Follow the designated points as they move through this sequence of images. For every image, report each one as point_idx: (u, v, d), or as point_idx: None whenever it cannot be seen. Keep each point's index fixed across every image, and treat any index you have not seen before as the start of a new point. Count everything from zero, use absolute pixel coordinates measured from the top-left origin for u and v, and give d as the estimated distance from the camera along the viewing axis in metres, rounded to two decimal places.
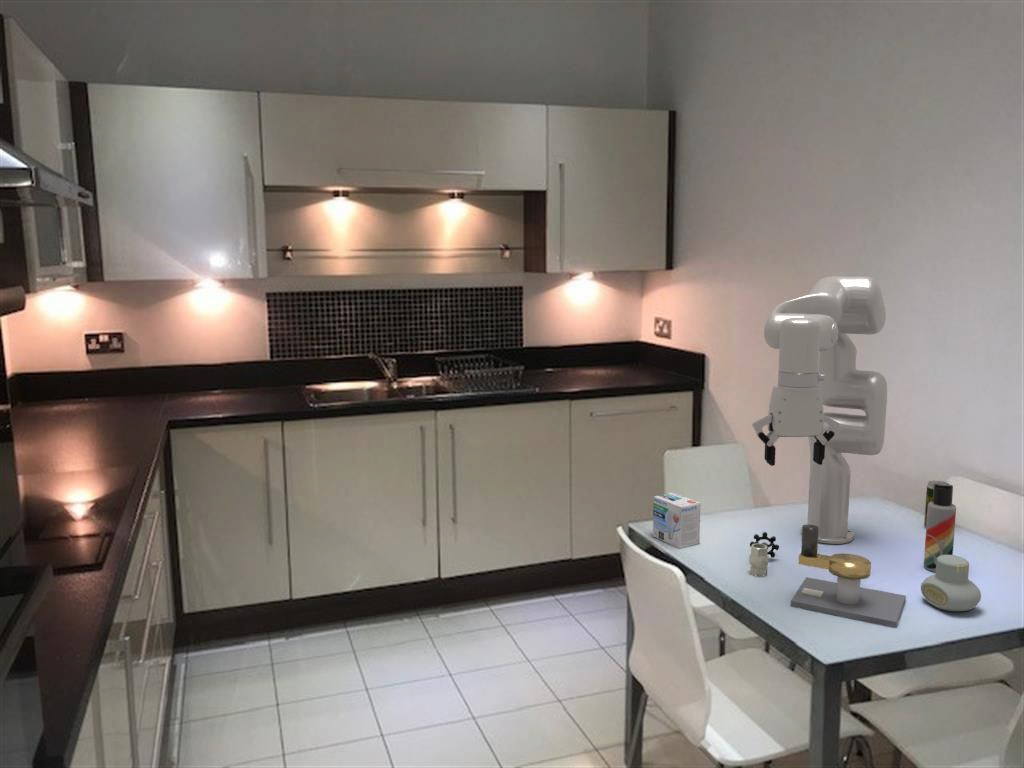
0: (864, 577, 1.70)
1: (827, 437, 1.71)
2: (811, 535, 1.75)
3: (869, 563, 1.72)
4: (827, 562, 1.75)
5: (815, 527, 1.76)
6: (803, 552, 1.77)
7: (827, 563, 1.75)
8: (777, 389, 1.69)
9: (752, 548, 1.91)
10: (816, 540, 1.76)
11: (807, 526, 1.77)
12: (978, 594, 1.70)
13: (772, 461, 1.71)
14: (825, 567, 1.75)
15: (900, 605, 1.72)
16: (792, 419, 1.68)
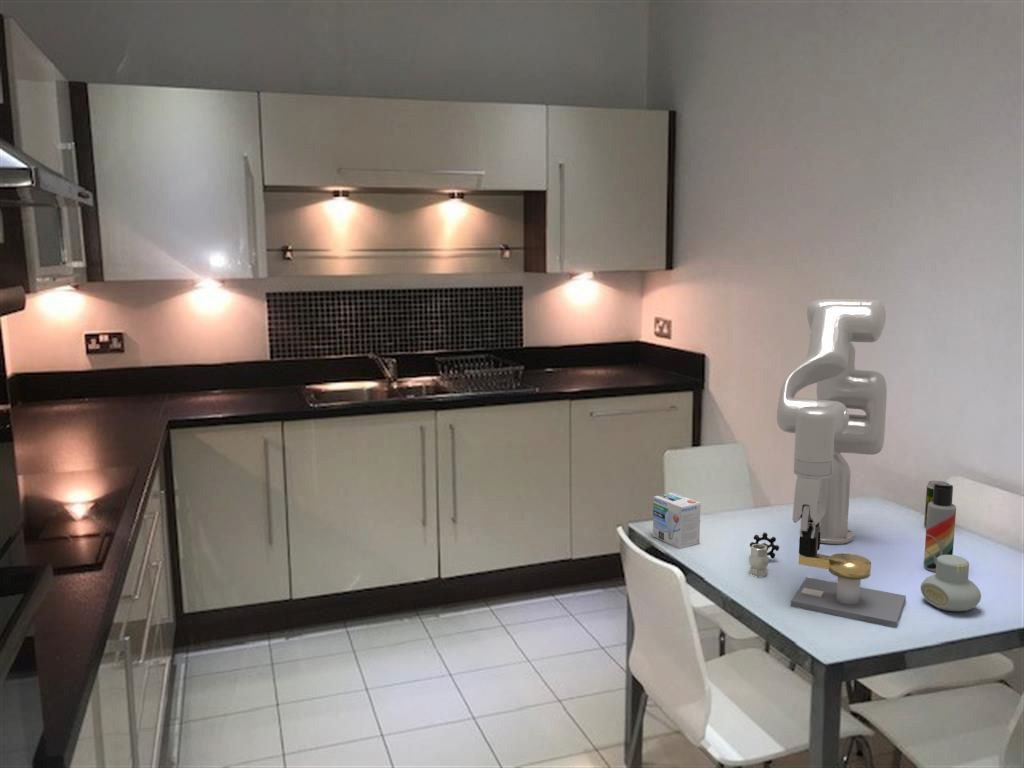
0: (864, 577, 1.70)
1: (817, 523, 1.79)
2: None
3: (869, 563, 1.72)
4: (827, 562, 1.75)
5: (815, 527, 1.76)
6: None
7: (827, 563, 1.75)
8: (812, 480, 1.71)
9: (752, 549, 1.91)
10: (816, 540, 1.76)
11: None
12: (978, 594, 1.70)
13: (815, 552, 1.75)
14: (825, 567, 1.75)
15: (900, 605, 1.72)
16: (822, 505, 1.73)
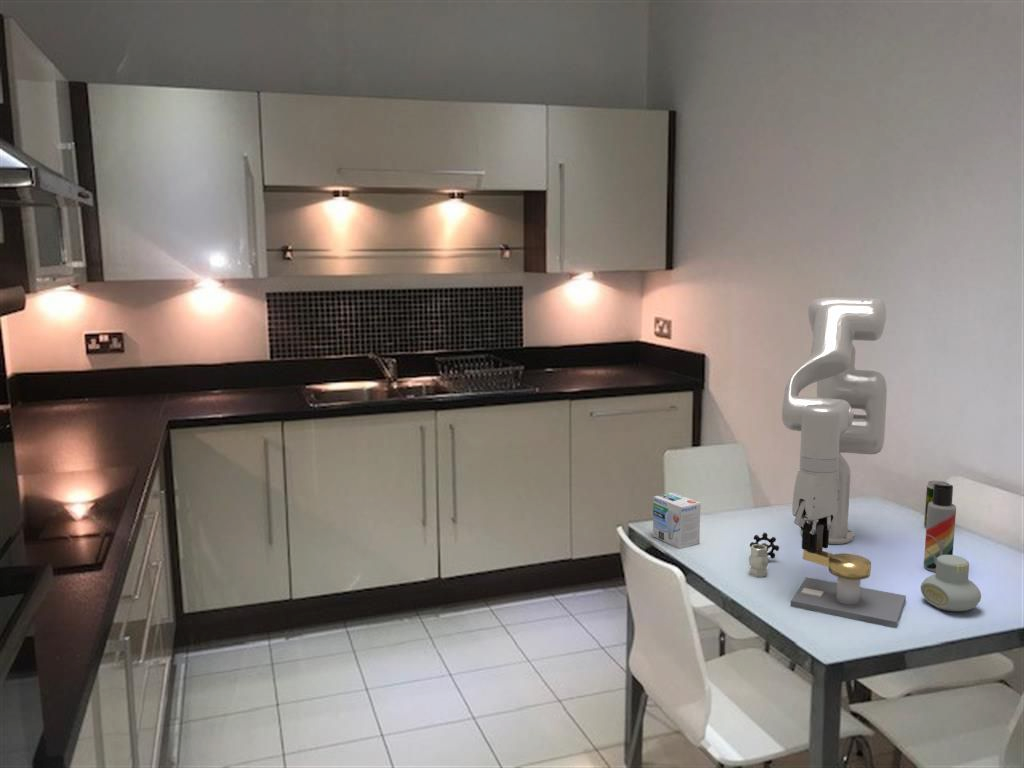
0: (858, 578, 1.70)
1: None
2: None
3: (867, 565, 1.71)
4: (827, 560, 1.76)
5: (820, 524, 1.78)
6: None
7: (827, 561, 1.76)
8: (809, 476, 1.74)
9: (752, 549, 1.91)
10: (819, 537, 1.78)
11: None
12: (978, 594, 1.70)
13: (815, 548, 1.77)
14: (826, 564, 1.76)
15: (900, 605, 1.72)
16: (822, 502, 1.75)
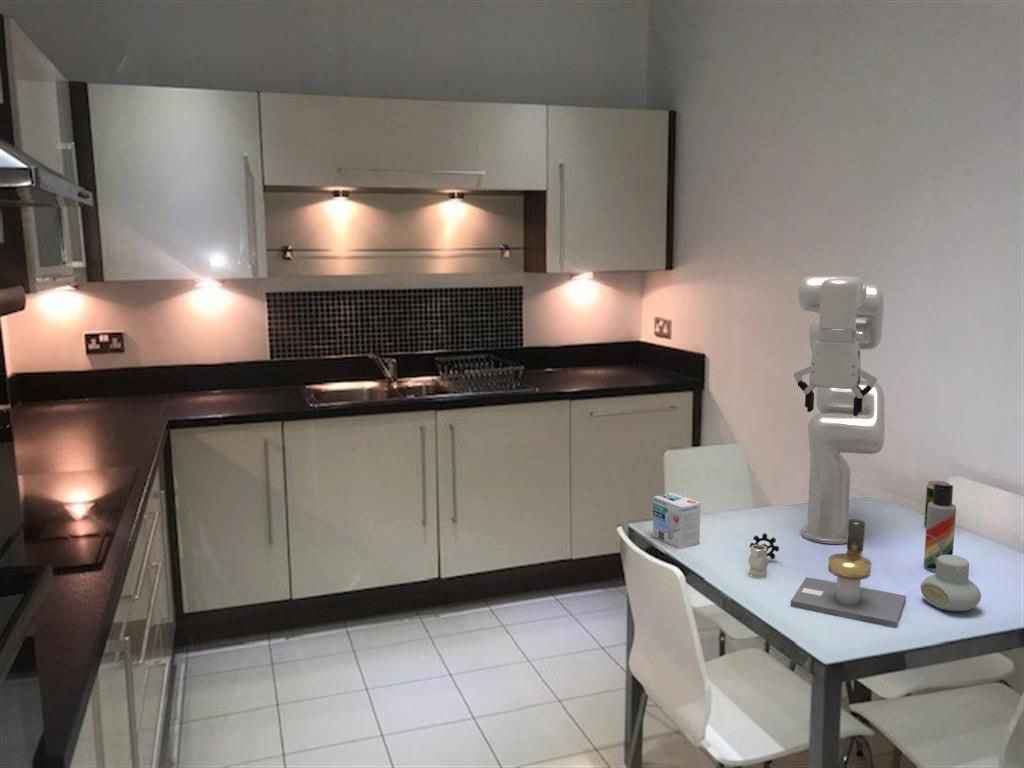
0: (834, 574, 1.72)
1: (863, 391, 1.83)
2: (848, 526, 1.80)
3: (848, 567, 1.70)
4: None
5: (857, 523, 1.79)
6: None
7: None
8: (814, 343, 1.87)
9: (751, 549, 1.90)
10: (851, 534, 1.79)
11: (857, 520, 1.80)
12: (978, 594, 1.70)
13: (808, 408, 1.89)
14: None
15: (900, 605, 1.72)
16: (825, 370, 1.85)
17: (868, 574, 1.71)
